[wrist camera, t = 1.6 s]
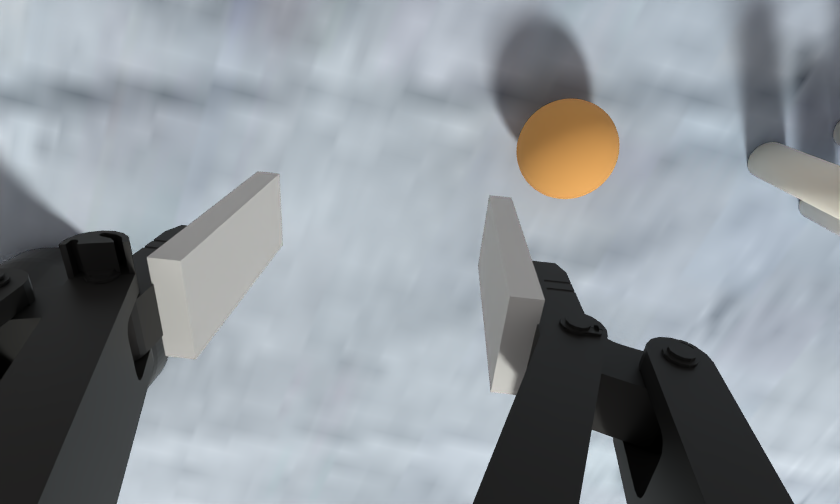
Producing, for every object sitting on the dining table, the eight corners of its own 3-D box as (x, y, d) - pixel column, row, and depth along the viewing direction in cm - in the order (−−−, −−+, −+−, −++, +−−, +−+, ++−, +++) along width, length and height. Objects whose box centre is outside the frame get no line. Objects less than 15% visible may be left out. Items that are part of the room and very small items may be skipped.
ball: (504, 177, 33) (514, 207, 28) (520, 87, 30) (534, 102, 25) (590, 186, 33) (617, 218, 28) (613, 96, 30) (648, 113, 25)
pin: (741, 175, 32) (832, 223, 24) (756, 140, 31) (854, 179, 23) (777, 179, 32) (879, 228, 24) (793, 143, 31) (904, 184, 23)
